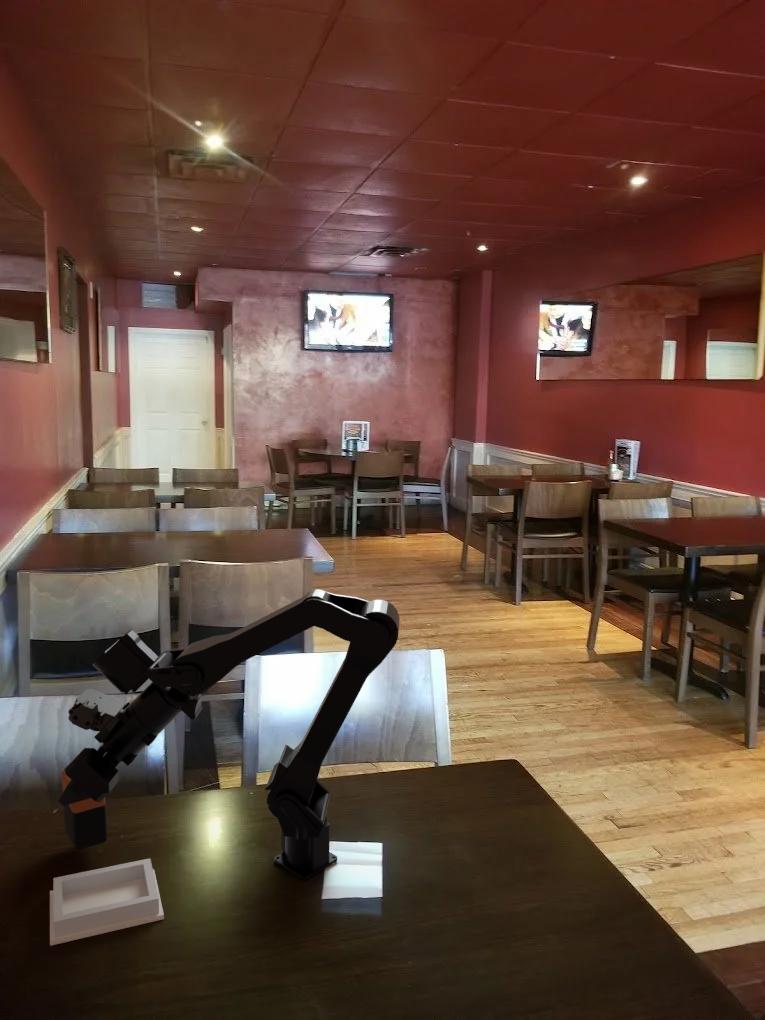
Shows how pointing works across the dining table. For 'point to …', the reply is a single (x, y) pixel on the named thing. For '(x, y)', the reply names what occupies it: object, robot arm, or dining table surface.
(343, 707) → the robot arm
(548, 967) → the dining table surface
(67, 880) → the tray
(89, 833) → the battery
